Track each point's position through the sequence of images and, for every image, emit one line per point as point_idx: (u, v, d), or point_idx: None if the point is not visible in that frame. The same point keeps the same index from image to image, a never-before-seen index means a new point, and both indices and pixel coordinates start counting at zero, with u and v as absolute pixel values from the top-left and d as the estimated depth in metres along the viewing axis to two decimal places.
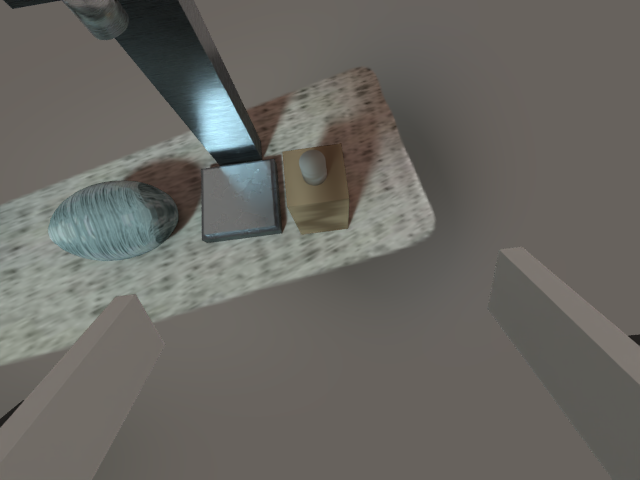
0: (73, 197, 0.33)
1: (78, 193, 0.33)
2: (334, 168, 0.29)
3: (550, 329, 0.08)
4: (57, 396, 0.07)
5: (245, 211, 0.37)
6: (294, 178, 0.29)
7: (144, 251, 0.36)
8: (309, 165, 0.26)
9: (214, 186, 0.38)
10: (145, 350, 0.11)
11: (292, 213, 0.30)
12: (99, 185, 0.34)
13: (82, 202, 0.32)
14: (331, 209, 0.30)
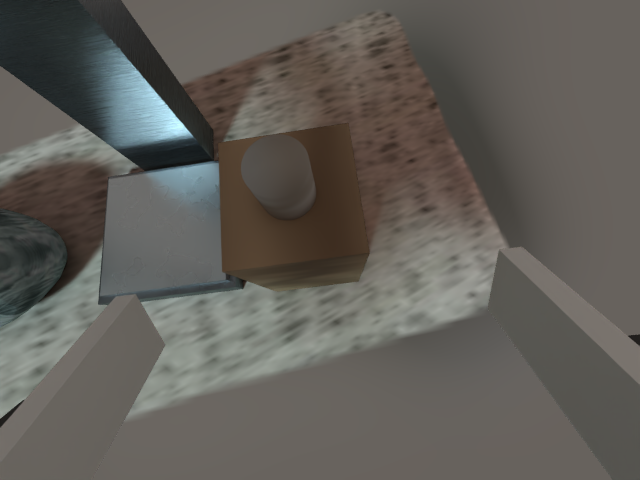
0: None
1: None
2: (332, 179, 0.13)
3: (550, 329, 0.08)
4: (57, 396, 0.07)
5: (175, 253, 0.21)
6: (242, 204, 0.13)
7: None
8: (268, 175, 0.10)
9: (125, 208, 0.22)
10: (145, 350, 0.11)
11: (242, 277, 0.14)
12: None
13: None
14: (328, 267, 0.14)
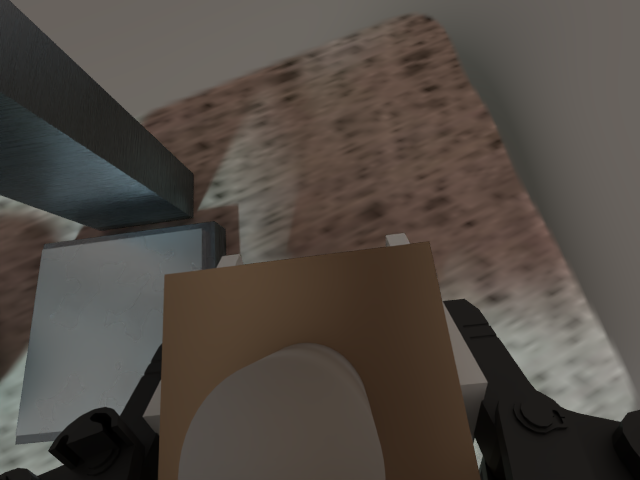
0: None
1: None
2: (403, 377, 0.06)
3: None
4: None
5: (129, 369, 0.14)
6: None
7: None
8: None
9: (62, 295, 0.15)
10: None
11: None
12: None
13: None
14: None
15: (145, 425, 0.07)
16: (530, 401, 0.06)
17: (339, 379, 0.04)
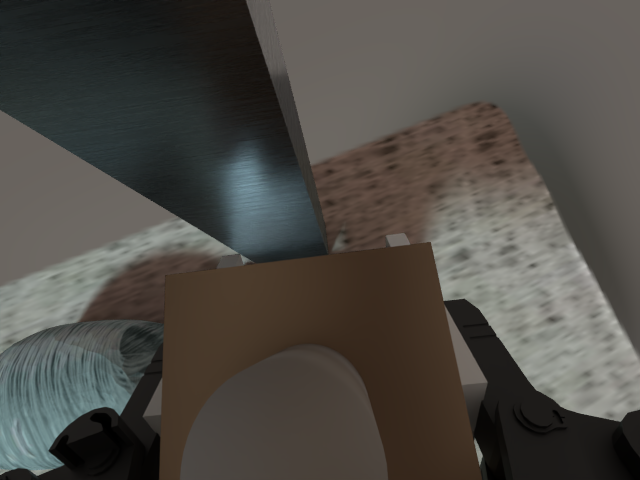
0: None
1: (8, 359, 0.18)
2: (404, 379, 0.06)
3: None
4: None
5: None
6: None
7: None
8: None
9: None
10: None
11: None
12: (49, 341, 0.18)
13: (10, 389, 0.17)
14: None
15: (145, 425, 0.07)
16: (530, 401, 0.06)
17: (341, 381, 0.04)
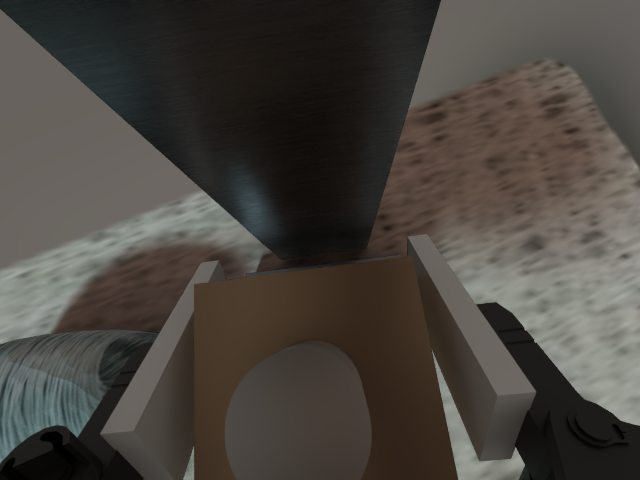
0: None
1: None
2: (391, 367, 0.07)
3: (431, 300, 0.09)
4: (183, 335, 0.09)
5: None
6: None
7: None
8: (283, 456, 0.05)
9: None
10: None
11: None
12: (0, 362, 0.13)
13: None
14: None
15: (106, 441, 0.07)
16: (586, 412, 0.05)
17: (339, 364, 0.05)
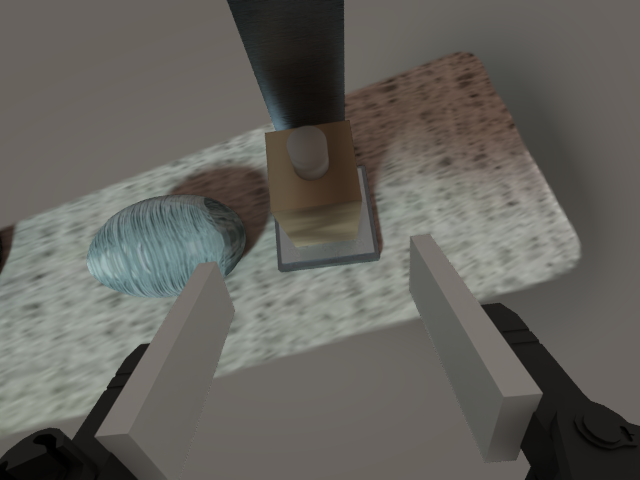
0: (120, 218, 0.25)
1: (126, 212, 0.25)
2: (339, 155, 0.20)
3: (434, 300, 0.09)
4: (179, 336, 0.09)
5: None
6: (282, 171, 0.20)
7: None
8: (302, 149, 0.17)
9: None
10: (224, 312, 0.12)
11: (279, 221, 0.21)
12: (153, 201, 0.26)
13: (134, 225, 0.24)
14: (336, 215, 0.21)
15: (101, 444, 0.07)
16: (593, 414, 0.05)
17: (318, 129, 0.18)
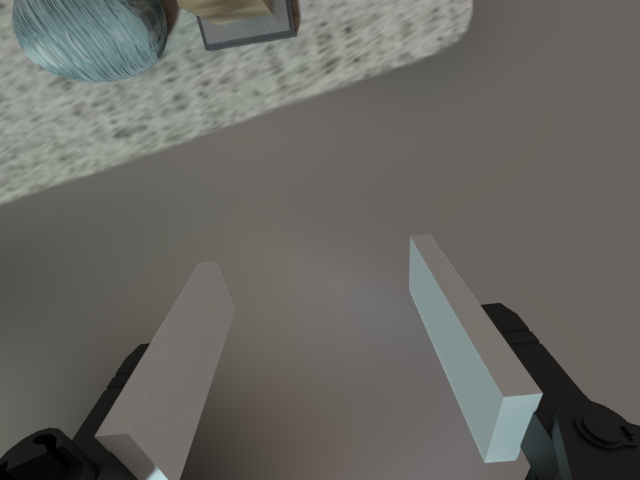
0: (29, 0, 0.25)
1: None
2: None
3: (434, 300, 0.09)
4: (179, 336, 0.09)
5: None
6: None
7: (146, 69, 0.32)
8: None
9: None
10: (224, 312, 0.12)
11: (190, 10, 0.24)
12: None
13: (49, 10, 0.25)
14: (239, 3, 0.24)
15: (100, 444, 0.07)
16: (593, 414, 0.05)
17: None
